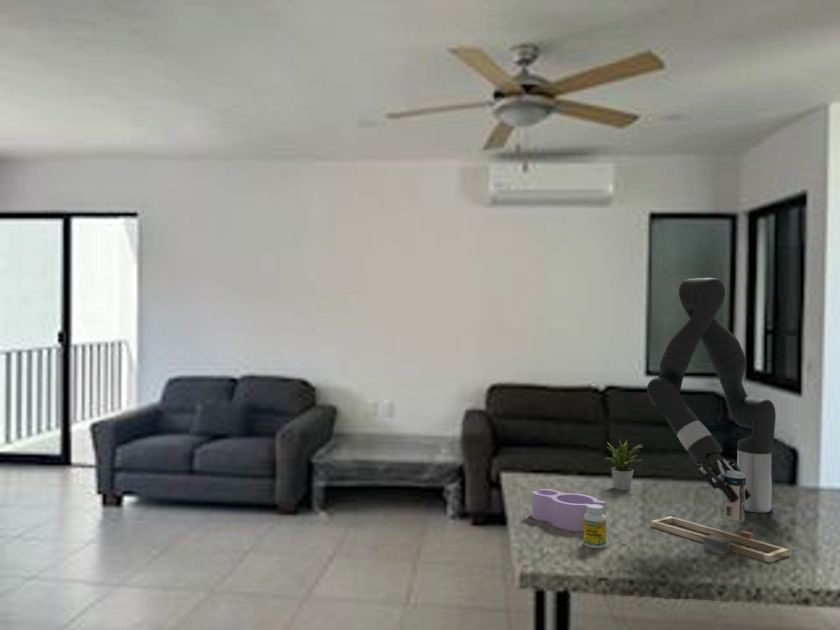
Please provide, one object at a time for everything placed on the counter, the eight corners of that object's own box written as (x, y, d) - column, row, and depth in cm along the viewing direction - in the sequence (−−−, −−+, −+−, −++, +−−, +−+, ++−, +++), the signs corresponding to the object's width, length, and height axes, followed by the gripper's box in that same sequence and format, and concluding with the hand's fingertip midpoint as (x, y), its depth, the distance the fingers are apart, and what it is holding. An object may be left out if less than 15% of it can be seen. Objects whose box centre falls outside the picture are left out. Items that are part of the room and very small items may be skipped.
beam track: (674, 520, 192) (674, 509, 192) (792, 554, 165) (792, 542, 165) (639, 529, 183) (639, 517, 183) (758, 566, 156) (758, 553, 156)
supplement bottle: (606, 543, 171) (607, 504, 171) (605, 549, 165) (606, 510, 166) (584, 540, 172) (584, 502, 172) (582, 547, 167) (583, 507, 167)
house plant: (652, 495, 220) (653, 444, 220) (609, 493, 221) (610, 442, 221) (639, 484, 235) (640, 436, 235) (598, 483, 235) (599, 435, 235)
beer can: (746, 523, 168) (748, 474, 168) (725, 522, 169) (727, 473, 169) (741, 518, 173) (743, 470, 173) (721, 516, 174) (722, 469, 174)
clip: (522, 518, 191) (523, 493, 191) (548, 510, 200) (549, 486, 200) (585, 535, 177) (586, 508, 177) (610, 526, 186) (611, 500, 186)
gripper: (692, 435, 173) (736, 494, 163) (724, 432, 181) (768, 487, 171) (673, 453, 177) (715, 511, 167) (705, 448, 186) (747, 504, 176)
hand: (741, 499), depth 169 cm, fingers closed on beer can, 4 cm apart
